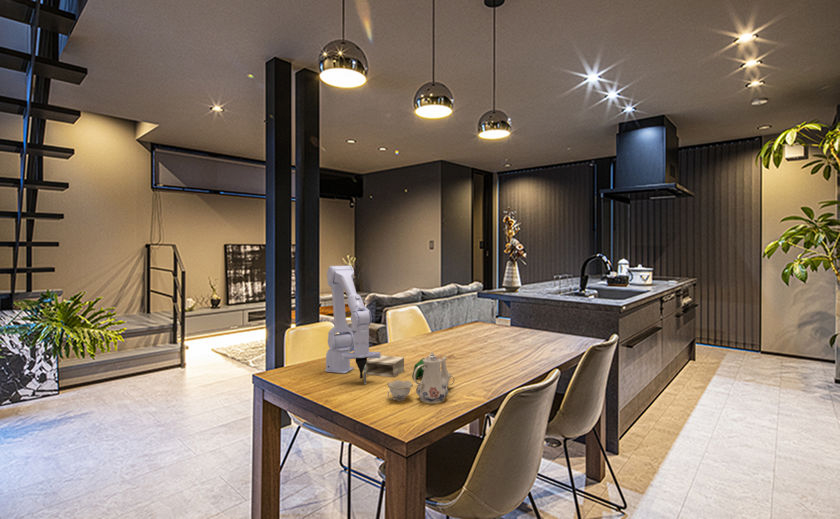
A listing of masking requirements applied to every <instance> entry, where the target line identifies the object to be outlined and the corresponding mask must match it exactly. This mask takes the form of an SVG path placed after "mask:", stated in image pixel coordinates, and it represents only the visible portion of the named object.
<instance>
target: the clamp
mask: <svg viewBox="0 0 840 519" xmlns="http://www.w3.org/2000/svg"><path fill="white" fill-rule="evenodd" d="M425 358H426V357H425ZM425 358H424V357H422V359H420V360H419V361H418V362H416V363H415V364H414V368H413V372H412V375H411V376H412V378H413V375H414V371H415V369H416V368H417V367H418V366H419V365H422V364H424V362H423V359H425ZM422 367H424V366H422ZM422 367H420V368H419V369H418V371H417V373H416V380H418V379H419V378H420V377H421V378H422V377H423V373H424V370H423V369H422Z"/></svg>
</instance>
